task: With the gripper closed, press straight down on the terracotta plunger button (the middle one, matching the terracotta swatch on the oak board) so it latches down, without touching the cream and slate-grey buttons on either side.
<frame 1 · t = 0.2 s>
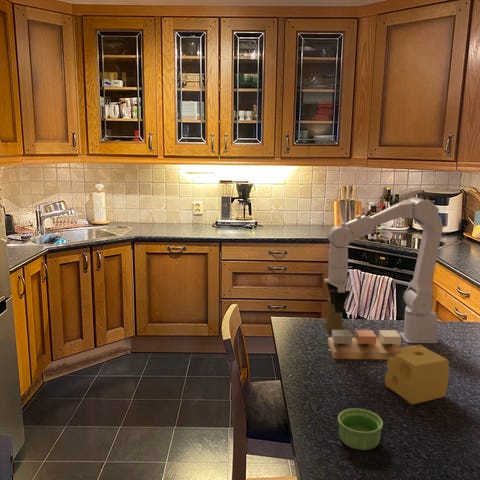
hand: (336, 308, 150), 10 cm above the kitchen island, tool pointing down, fingers open, 7 cm apart
button board: (364, 351, 142), on the kitchen island
button slate: (341, 336, 142), point 4 cm above the kitchen island, slide at 0.0 cm
button terracotta: (365, 336, 141), point 4 cm above the kitchen island, slide at 0.0 cm
ramekin: (359, 440, 99), on the kitchen island
cork: (334, 329, 160), on the kitchen island
button cream: (389, 336, 141), point 4 cm above the kitchen island, slide at 0.0 cm
cheese: (415, 392, 119), on the kitchen island
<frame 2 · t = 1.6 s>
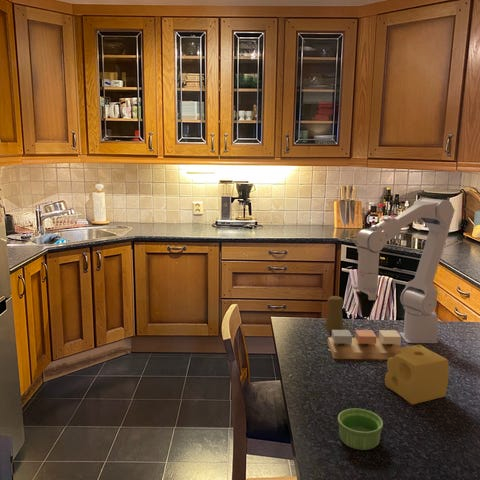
hand: (365, 316, 141), 10 cm above the kitchen island, tool pointing down, fingers closed
nothing on the kitchen island moved.
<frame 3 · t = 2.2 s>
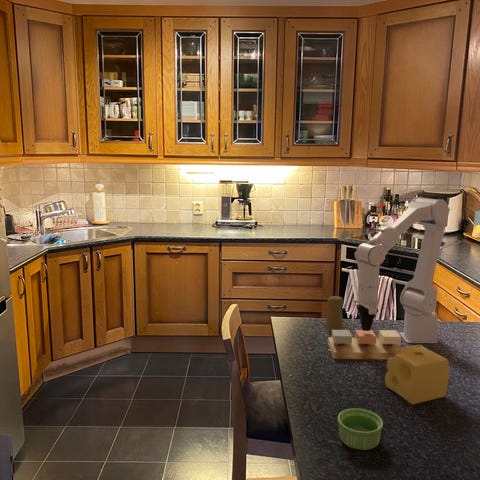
hand: (365, 329, 141), 7 cm above the kitchen island, tool pointing down, fingers closed
nothing on the kitchen island moved.
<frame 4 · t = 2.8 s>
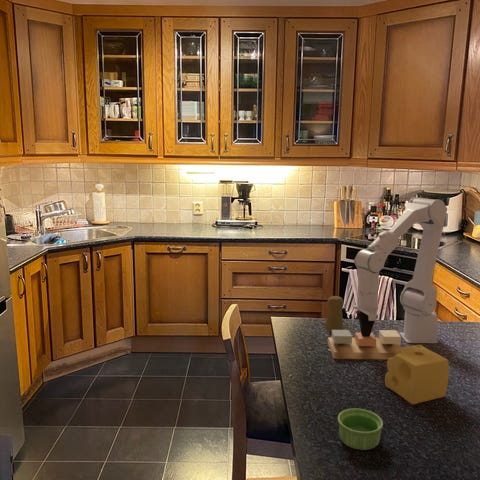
hand: (365, 335, 141), 5 cm above the kitchen island, tool pointing down, fingers closed, pressing on button terracotta
button terracotta: (365, 339, 142), point 4 cm above the kitchen island, slide at -0.8 cm, touching gripper
everything else where it was.
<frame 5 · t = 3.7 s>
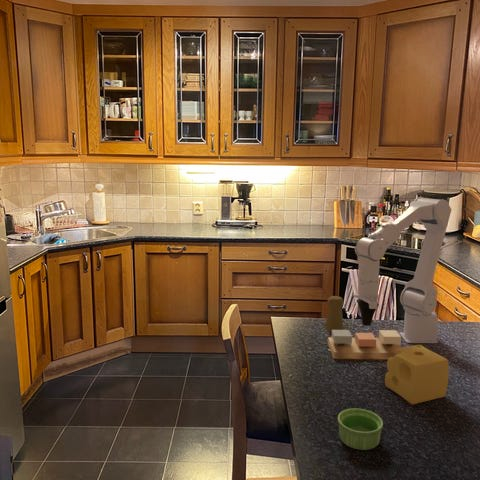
hand: (366, 324, 141), 8 cm above the kitchen island, tool pointing down, fingers closed
button terracotta: (365, 339, 142), point 4 cm above the kitchen island, slide at -0.9 cm
everything else where it was.
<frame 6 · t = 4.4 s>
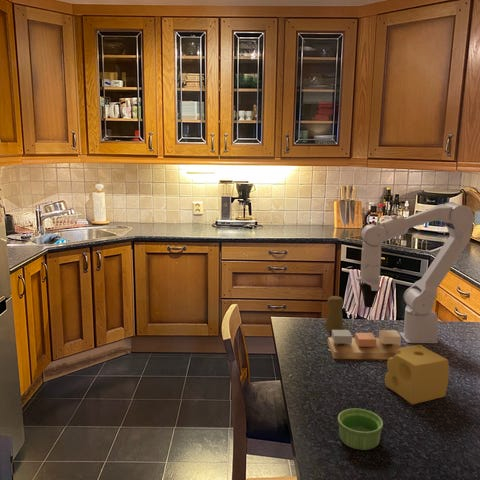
hand: (368, 306, 150), 10 cm above the kitchen island, tool pointing down, fingers closed
nothing on the kitchen island moved.
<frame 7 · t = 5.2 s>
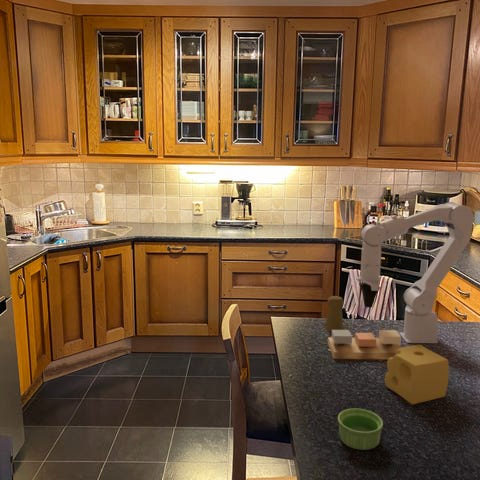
hand: (368, 306, 150), 10 cm above the kitchen island, tool pointing down, fingers closed
nothing on the kitchen island moved.
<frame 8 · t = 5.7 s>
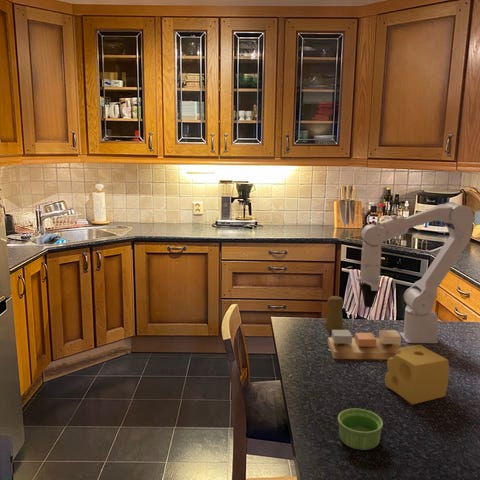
hand: (368, 306, 150), 10 cm above the kitchen island, tool pointing down, fingers closed
nothing on the kitchen island moved.
at the end: button terracotta slide at -0.9 cm; button cream slide at 0.0 cm; button slate slide at 0.0 cm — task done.
